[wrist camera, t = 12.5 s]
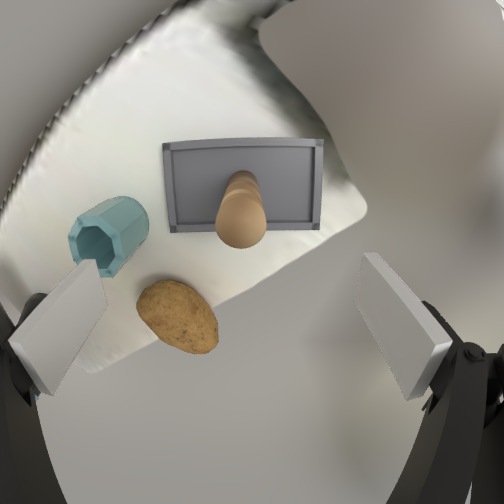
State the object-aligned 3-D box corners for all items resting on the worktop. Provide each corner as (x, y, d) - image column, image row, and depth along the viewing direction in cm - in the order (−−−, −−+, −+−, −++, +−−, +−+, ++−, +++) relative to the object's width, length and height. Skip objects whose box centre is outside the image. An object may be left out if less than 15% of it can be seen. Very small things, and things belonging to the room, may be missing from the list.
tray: (174, 226, 39) (170, 232, 36) (167, 142, 34) (162, 143, 32) (315, 224, 39) (319, 229, 36) (318, 139, 34) (323, 139, 32)
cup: (106, 248, 40) (77, 277, 31) (97, 198, 37) (62, 218, 28) (152, 247, 40) (129, 278, 31) (145, 194, 37) (116, 213, 28)
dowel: (229, 197, 36) (216, 249, 20) (228, 170, 34) (213, 200, 19) (257, 197, 36) (266, 247, 20) (257, 169, 34) (266, 199, 19)
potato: (198, 341, 48) (191, 373, 40) (136, 291, 43) (119, 320, 36) (236, 312, 45) (234, 346, 38) (171, 255, 41) (156, 282, 33)
